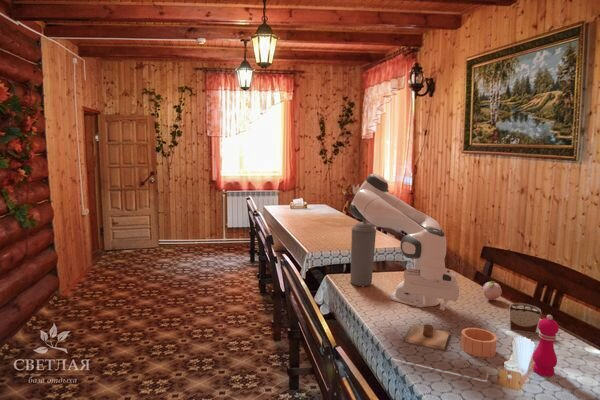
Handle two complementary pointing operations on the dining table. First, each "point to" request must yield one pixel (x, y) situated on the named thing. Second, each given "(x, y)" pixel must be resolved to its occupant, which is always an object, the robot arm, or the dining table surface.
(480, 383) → the dining table surface
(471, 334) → the bowl
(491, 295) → the decorative fruit
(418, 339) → the lid
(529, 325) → the food container
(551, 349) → the pepper mill
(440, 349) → the mat
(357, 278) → the canister
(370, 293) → the dining table surface
